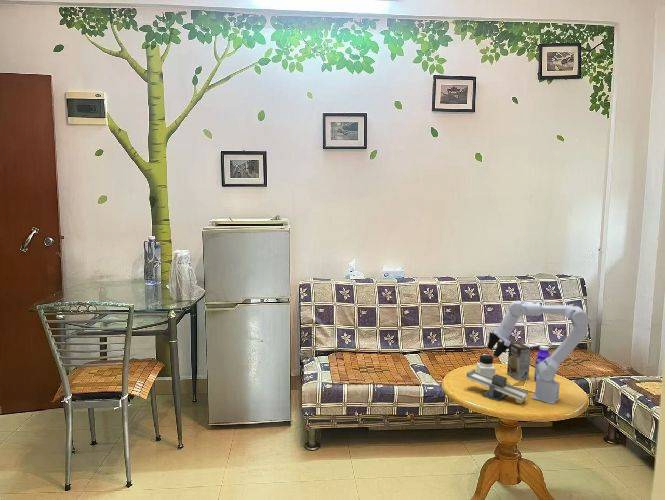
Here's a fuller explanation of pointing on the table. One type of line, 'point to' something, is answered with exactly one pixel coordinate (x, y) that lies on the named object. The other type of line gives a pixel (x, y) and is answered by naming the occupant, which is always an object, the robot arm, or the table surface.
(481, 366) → the medicine bottle
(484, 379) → the beam
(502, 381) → the block
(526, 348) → the coffee box
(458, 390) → the table surface
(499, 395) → the pivot stand
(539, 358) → the bottle
